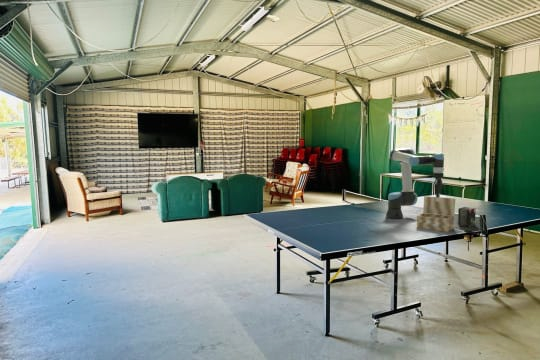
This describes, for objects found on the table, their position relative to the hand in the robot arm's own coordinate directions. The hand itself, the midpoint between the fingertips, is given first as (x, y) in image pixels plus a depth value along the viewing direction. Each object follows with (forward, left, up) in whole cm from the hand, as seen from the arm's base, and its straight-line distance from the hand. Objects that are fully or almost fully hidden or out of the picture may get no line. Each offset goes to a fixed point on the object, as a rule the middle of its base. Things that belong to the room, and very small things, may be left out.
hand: (437, 201), depth 288 cm
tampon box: (+17, +19, -22) cm, 33 cm away
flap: (0, +2, -4) cm, 5 cm away
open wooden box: (0, -5, -21) cm, 22 cm away
